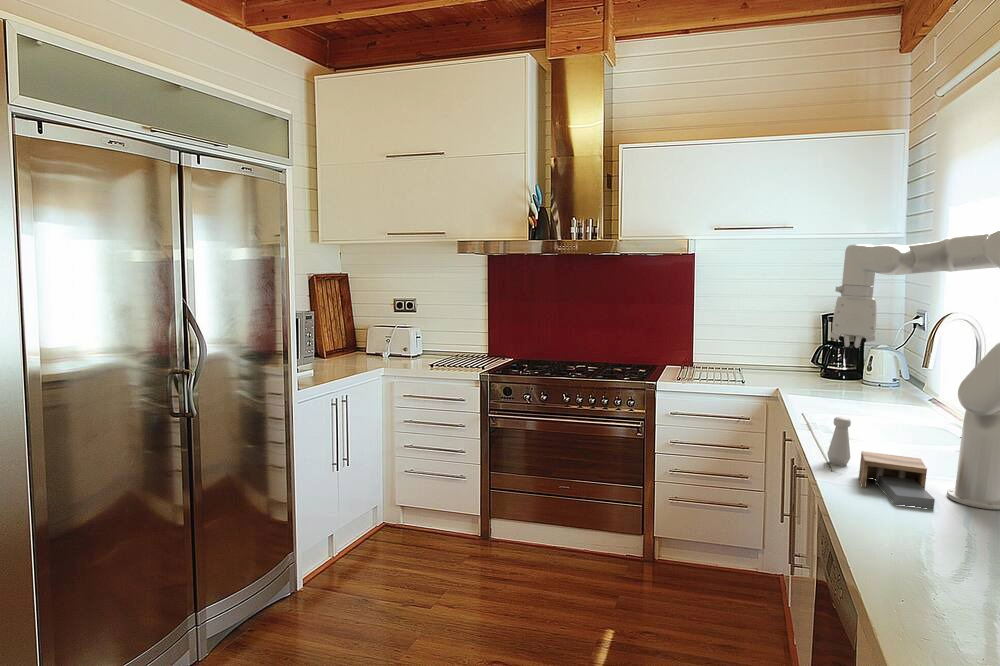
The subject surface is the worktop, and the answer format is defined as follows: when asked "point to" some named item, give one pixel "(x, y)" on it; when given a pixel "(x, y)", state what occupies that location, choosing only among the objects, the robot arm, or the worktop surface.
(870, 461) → the open wooden box
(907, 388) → the worktop surface
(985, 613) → the worktop surface
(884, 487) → the board
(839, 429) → the salt shaker
